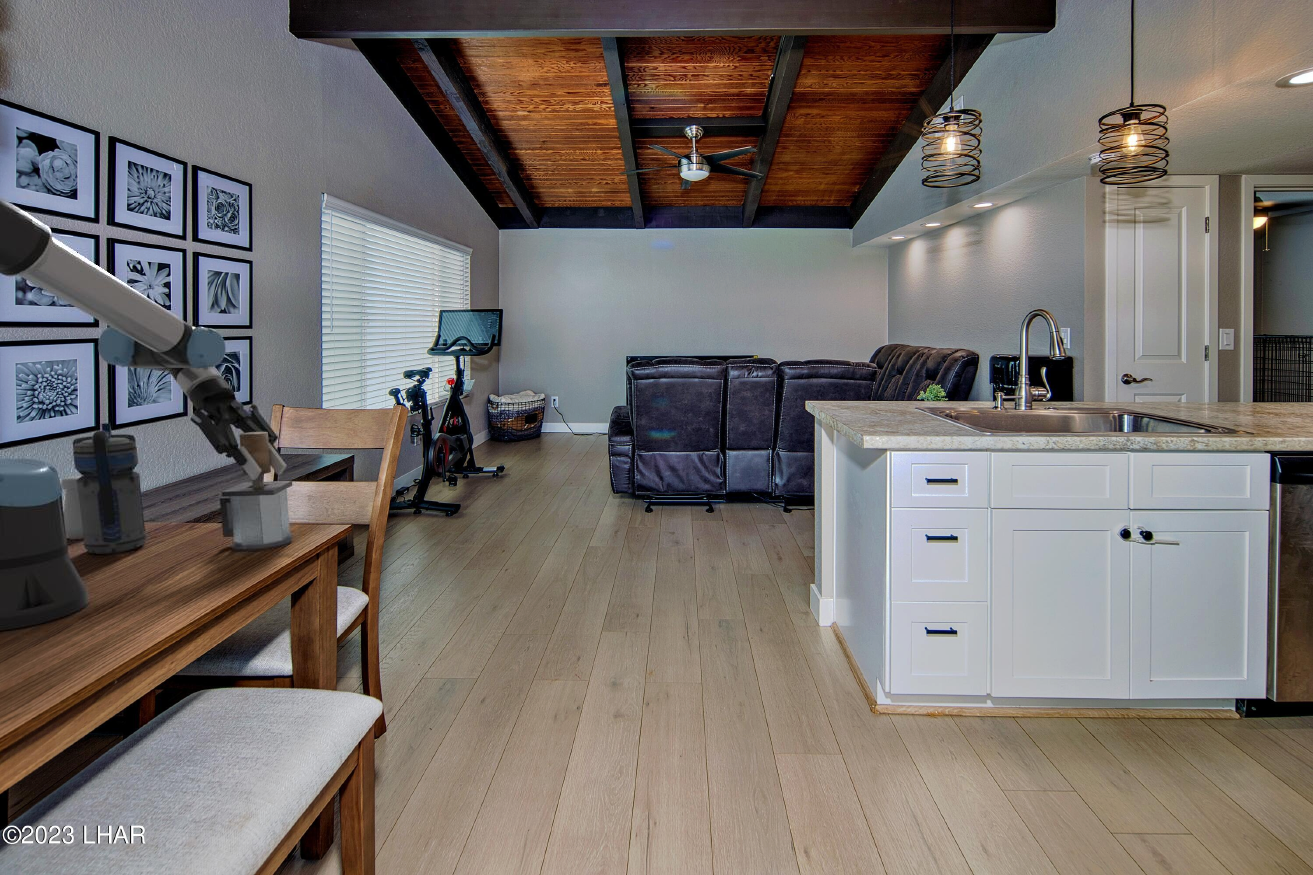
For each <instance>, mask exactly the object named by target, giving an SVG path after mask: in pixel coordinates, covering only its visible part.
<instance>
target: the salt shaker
mask: <svg viewBox="0 0 1313 875" xmlns="http://www.w3.org/2000/svg"><path fill="white" fill-rule="evenodd" d="M81 476H82V475H79V476H77V475H76V476H75V475H74V476H69V477H66V478H63V479H62V480H61V486H62V490H65V493H64V494H65V498H64V505H63V511H64V520H65V529H66V537H67V539H70V540H81V539H84V536H83V528H82V519H81V511H80V503H79V494H78V490H77V482H76V480H77V479H78V478H80V477H81Z"/></svg>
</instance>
